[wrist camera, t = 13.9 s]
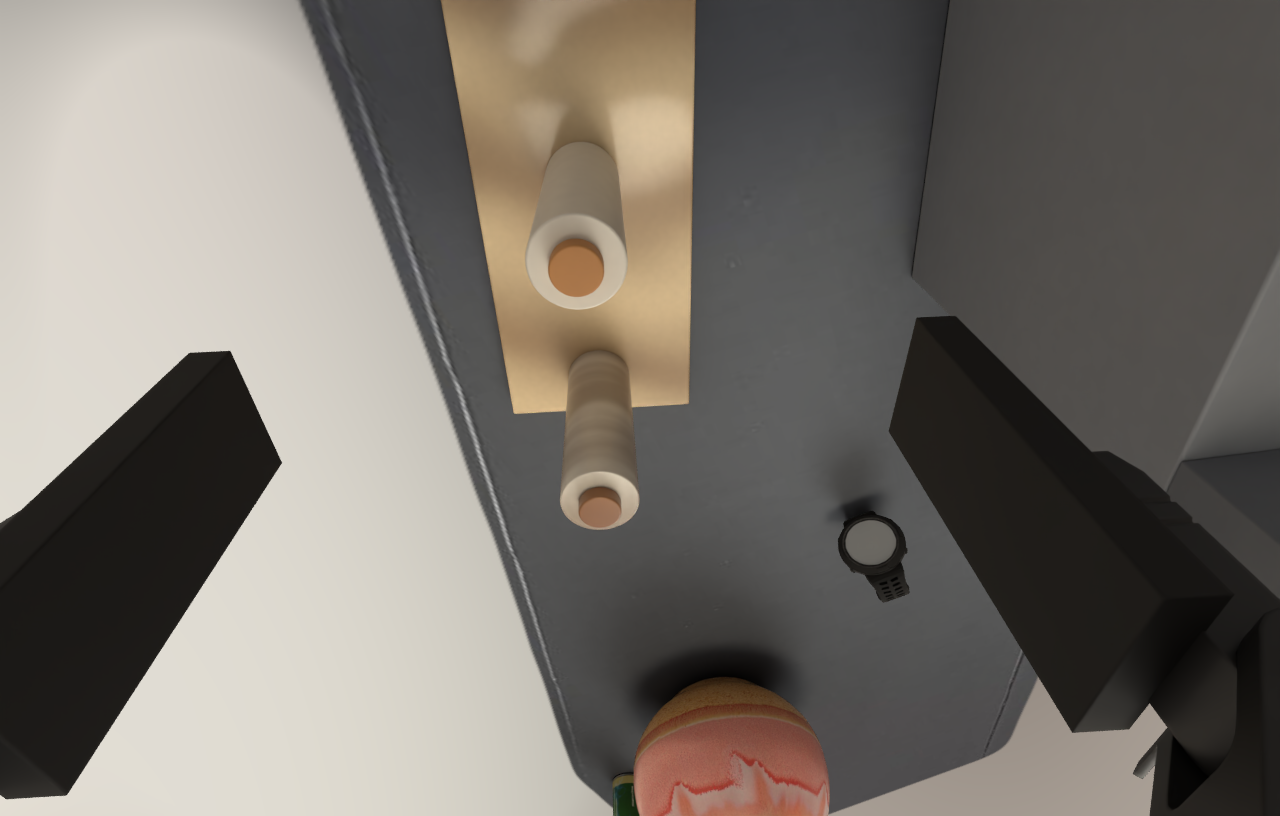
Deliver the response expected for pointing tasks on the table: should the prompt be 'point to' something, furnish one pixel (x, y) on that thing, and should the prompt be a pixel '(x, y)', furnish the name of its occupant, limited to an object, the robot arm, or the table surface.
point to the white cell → (578, 229)
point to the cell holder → (651, 203)
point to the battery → (624, 796)
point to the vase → (730, 755)
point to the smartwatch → (875, 553)
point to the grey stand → (1124, 234)
